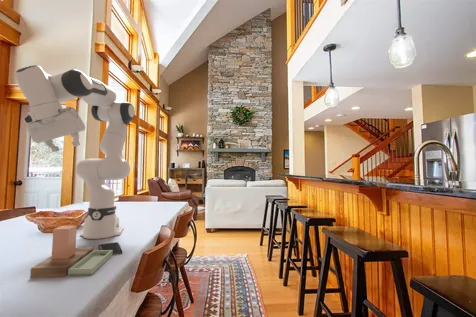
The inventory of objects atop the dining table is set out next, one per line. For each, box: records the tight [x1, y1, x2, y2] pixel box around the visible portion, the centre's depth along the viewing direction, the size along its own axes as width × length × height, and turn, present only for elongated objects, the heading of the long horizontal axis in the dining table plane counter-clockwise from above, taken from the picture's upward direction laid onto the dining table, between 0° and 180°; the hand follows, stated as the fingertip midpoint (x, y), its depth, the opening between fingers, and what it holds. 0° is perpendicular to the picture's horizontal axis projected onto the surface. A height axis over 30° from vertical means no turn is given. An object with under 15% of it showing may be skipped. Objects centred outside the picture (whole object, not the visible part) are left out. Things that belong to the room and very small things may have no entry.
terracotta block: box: [51, 225, 78, 259], centre depth 84 cm, size 5×5×10 cm
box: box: [67, 249, 113, 277], centre depth 85 cm, size 18×7×2 cm, turn 8°
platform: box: [29, 247, 94, 279], centre depth 84 cm, size 19×10×3 cm, turn 8°
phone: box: [97, 241, 123, 256], centre depth 100 cm, size 8×1×15 cm
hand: (66, 148), depth 90 cm, fingers open, 8 cm apart
